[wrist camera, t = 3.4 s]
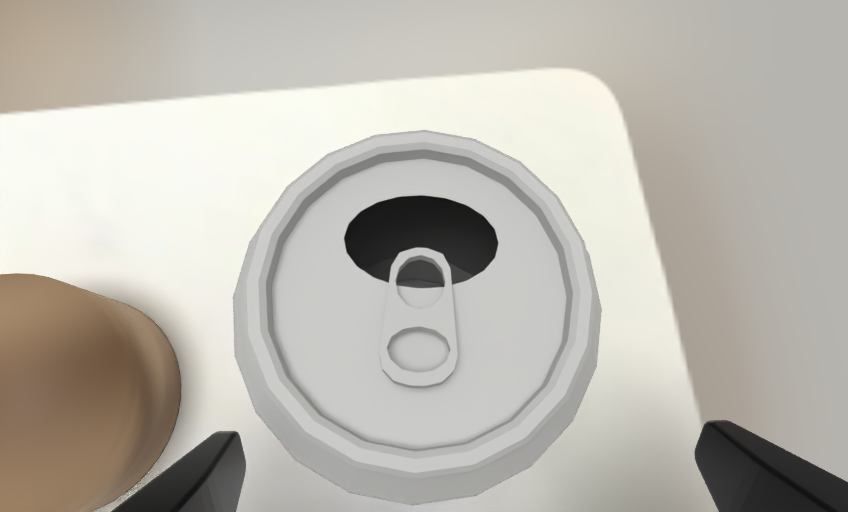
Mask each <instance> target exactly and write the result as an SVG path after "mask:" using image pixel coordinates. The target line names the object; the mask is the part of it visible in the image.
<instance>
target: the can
mask: <svg viewBox="0 0 848 512" xmlns="http://www.w3.org/2000/svg"><path fill="white" fill-rule="evenodd" d="M601 310H602V309H601V304H600V300H599V296H598V291H597V287H596V282H595V278H594V274H593V269H592V265H591V261H590V256H589V254H588V252H587V250H586V247H585V243H584V240H583V239H582V237H581V235H580V234H579V232H578V230H577V228H576V227H575V225H574V223H573V222H572V220H571V218H570V216H569V215H568V213H567V211H566V210H565V208H564V206H563V204H562V203H561V201H560V199H559V198H558V196H557V195H556V194H555V193H554V192H552V191H551V190H550V189H549V188H548V187H547V186H546V185H545V184H544V183H543V182H542V181H541V180H540V179H538V178H537V177H536V176H535V175H534V174H533V173H532V172H531V171H530V170H529V169H528V168H527V167H526V166H524V165H523V164H522V163H521V162H520V161H518V160H516V159H514V158H512V157H510V156H508V155H506V154H504V153H502V152H500V151H498V150H496V149H494V148H492V147H490V146H488V145H486V144H484V143H482V142H480V141H478V140H476V139H472V138H466V137H461V136H455V135H450V134H444V133H439V132H433V131H428V130H420V131H410V132H400V133H390V134H381V135H374V136H371V137H369V138H366V139H364V140H361V141H359V142H356V143H354V144H351V145H349V146H346V147H344V148H342V149H339V150H337V151H334V152H332V153H329V154H327V155H326V156H325V157H323V158H322V159H321V160H320V161H318V162H317V163H316V164H315V165H313V166H312V167H311V168H310V169H308V170H307V171H306V172H305V173H303V174H302V175H301V176H300V177H298V178H297V179H296V180H295V181H293V182H292V183H291V184H289V185H288V186H287V187H286V189H285V190H284V192H283V193H282V195H281V196H280V198H279V199H278V201H277V202H276V203H275V205H274V206H273V208H272V209H271V211H270V212H269V214H268V215H267V217H266V218H265V220H264V221H263V223H262V224H261V225H260V227H259V228H258V230H257V232H256V234H255V235H254V237H253V238H252V240H251V241H250V242H249V245H248V249H247V252H246V255H245V259H244V262H243V266H242V269H241V272H240V276H239V279H238V282H237V286H236V289H235V292H234V296H233V312H234V348H235V358H236V360H237V363H238V366H239V368H240V371H241V374H242V377H243V379H244V382H245V385H246V387H247V390H248V393H249V395H250V398H251V401H252V403H253V406H254V409H255V412H256V413H257V414H258V416H259V417H260V418H261V419H262V420H263V422H264V423H265V424H266V425H267V426H268V428H269V429H270V430H271V431H272V432H273V434H274V435H275V436H276V437H277V439H278V440H279V441H280V442H281V443H282V445H283V446H284V447H285V448H286V449H287V451H288V452H289V453H290V454H291V455H292V457H293V458H294V459H295V460H296V461H298V462H299V463H301V464H303V465H304V466H306V467H308V468H309V469H311V470H313V471H314V472H316V473H318V474H319V475H321V476H323V477H324V478H326V479H328V480H329V481H331V482H333V483H334V484H336V485H338V486H339V487H341V488H343V489H344V490H346V491H348V492H349V493H354V494H359V495H364V496H369V497H374V498H379V499H384V500H389V501H394V502H399V503H404V504H409V505H417V504H424V503H431V502H438V501H444V500H451V499H458V498H464V497H471V496H476V495H478V494H480V493H482V492H484V491H486V490H488V489H489V488H491V487H493V486H495V485H497V484H499V483H501V482H503V481H504V480H506V479H508V478H510V477H512V476H514V475H516V474H518V473H519V472H521V471H523V470H525V469H527V468H529V467H531V466H532V465H533V464H534V463H535V462H536V460H537V459H538V458H539V457H540V456H541V455H542V454H543V453H544V452H545V451H546V450H547V449H548V447H549V446H550V445H551V444H552V443H553V442H554V441H555V440H556V439H557V438H558V437H559V435H560V434H561V433H562V432H563V431H564V430H565V429H566V428H567V427H568V426H569V425H570V423H571V422H572V421H573V419H574V417H575V415H576V412H577V410H578V408H579V406H580V403H581V401H582V399H583V396H584V394H585V392H586V389H587V387H588V385H589V383H590V380H591V378H592V376H593V373H594V371H595V369H596V367H597V355H598V344H599V333H600V322H601Z"/></svg>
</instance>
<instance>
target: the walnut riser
mask: <svg viewBox="0 0 848 512" xmlns="http://www.w3.org/2000/svg"><path fill="white" fill-rule="evenodd" d="M180 395H181V381H180V372H179V367H178V363H177V359H176V356H175V353H174V351H173V348H172V346H171V344H170V343H169V341H168V339H167V337H166V336H165V334H164V333H163V332H162V331H161V329H160V328H159V327H158V326H157V325H156V324H155V323H154V322H153V321H152V320H151V319H150V318H149V317H147V316H146V315H144V314H143V313H142V312H140V311H139V310H137V309H135V308H133V307H131V306H129V305H126V304H123V303H120V302H118V301H115V300H112V299H109V298H106V297H104V296H101V295H98V294H95V293H92V292H90V291H87V290H84V289H81V288H78V287H76V286H73V285H70V284H67V283H64V282H61V281H58V280H55V279H52V278H49V277H45V276H39V275H34V274H18V273H17V274H2V275H0V512H91V511H93V510H96V509H99V508H101V507H103V506H105V505H107V504H108V503H110V502H112V501H114V500H115V499H117V498H118V497H120V496H121V495H123V494H124V493H126V492H127V491H128V490H129V489H131V488H132V487H133V486H134V485H135V484H136V483H138V482H139V481H140V480H141V479H142V477H143V476H144V475H145V474H146V473H147V472H148V471H149V470H150V469H151V467H152V466H153V465H154V463H155V462H156V461H157V459H158V458H159V456H160V455H161V453H162V451H163V450H164V448H165V446H166V444H167V443H168V440H169V438H170V436H171V433H172V431H173V429H174V425H175V422H176V419H177V416H178V410H179V405H180Z"/></svg>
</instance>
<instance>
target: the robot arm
mask: <svg viewBox="0 0 848 512" xmlns="http://www.w3.org/2000/svg"><path fill="white" fill-rule="evenodd" d="M695 460H696V463H697V466H698V468H699V470H700V472H701V475H702V477H703V479H704V481H705V483H706V485H707V487H708V489H709V492H710V494H711V496H712V498H713V500H714V502H715V504H716V506H717V509H718V511H719V512H848V482H846V481H845V480H843V479H841V478H839V477H837V476H835V475H833V474H831V473H829V472H827V471H825V470H823V469H821V468H819V467H817V466H815V465H813V464H811V463H810V462H808V461H806V460H804V459H802V458H800V457H798V456H796V455H794V454H792V453H790V452H788V451H786V450H785V449H783V448H781V447H779V446H777V445H775V444H773V443H771V442H769V441H767V440H765V439H763V438H761V437H759V436H757V435H756V434H754V433H752V432H750V431H748V430H746V429H744V428H742V427H740V426H738V425H736V424H734V423H732V422H730V421H727V420H713V421H712V420H711V421H707V422H706V423H705V424H704V426H703V429H702V431H701V434H700V437H699V440H698V442H697V445H696V448H695ZM245 471H246V461H245V456H244V452H243V447H242V443H241V439H240V436H239V434H238V432H236V431H218V432H216V433H214V434H212V435H211V436H210V437H208V438H207V439H206V440H204V441H203V442H202V443H201V444H199V445H198V446H197V447H195V448H194V449H193V450H191V451H190V452H189V453H187V454H186V455H185V456H183V457H182V458H181V459H179V460H178V461H177V462H176V463H174V464H173V465H172V466H170V467H169V468H168V469H166V470H165V471H164V472H162V473H161V474H160V475H158V476H157V477H156V478H155V479H153V480H152V481H151V482H149V483H148V484H147V485H145V486H144V487H143V488H141V489H140V490H139V491H137V492H136V493H135V494H133V495H132V496H131V497H130V498H128V499H127V500H126V501H124V502H123V503H122V504H120V505H119V506H118V507H116V508H115V509H114V510H112V511H111V512H236V509H237V505H238V501H239V497H240V493H241V489H242V485H243V481H244V477H245Z"/></svg>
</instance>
